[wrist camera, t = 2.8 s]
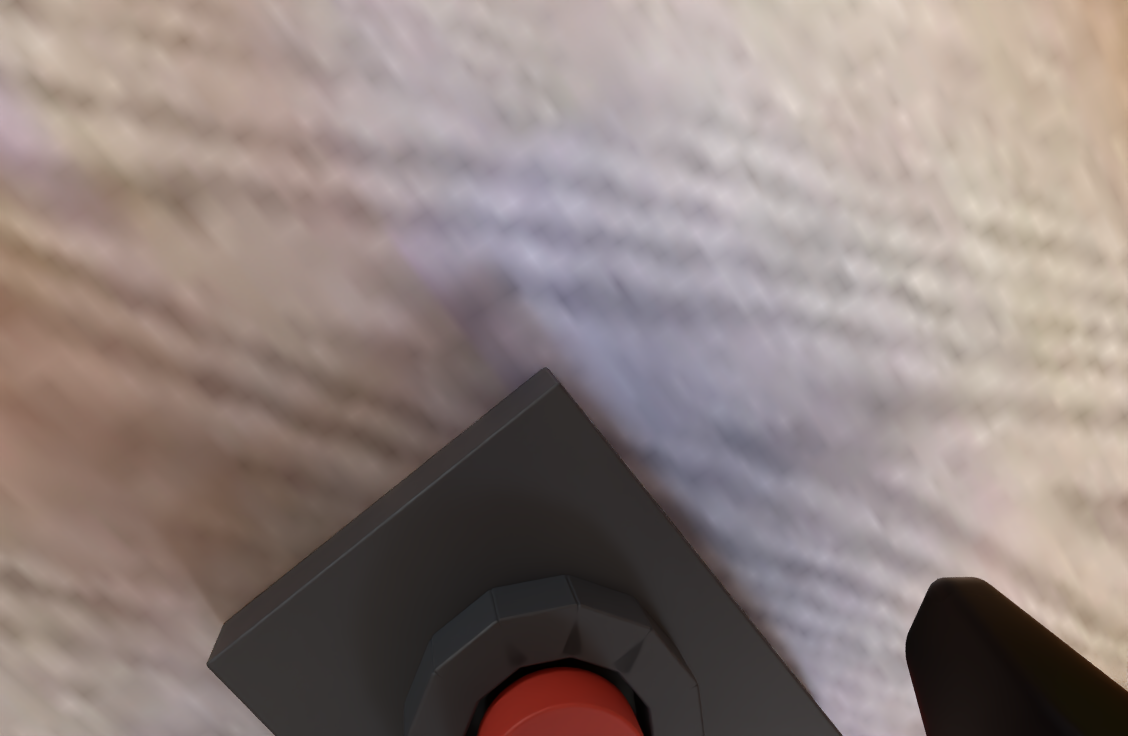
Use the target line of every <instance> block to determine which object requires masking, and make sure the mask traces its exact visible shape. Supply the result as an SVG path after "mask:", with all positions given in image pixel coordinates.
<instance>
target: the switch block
mask: <svg viewBox="0 0 1128 736" xmlns="http://www.w3.org/2000/svg"><path fill="white" fill-rule="evenodd" d="M207 666H208V668H209V669H210V670H211V671H212V672H213V673H214V674H215V675H216V676H217V677H218V678H219V679H220V680H221V681H222V682H223V683H224V684H225V685H226V686H227V687H228V688H229V689H230V690H231V691H232V692H233V693H234V694H235V695H236V696H237V697H238V698H239V699H240V700H241V701H242V702H243V703H244V704H245V705H246V706H247V707H248V708H249V709H250V710H251V711H252V712H253V714H254V715H255V716H256V717H257V718H258V719H259V720H260V721H261V722H262V723H263V724H264V725H265V726H266V727H267V728H268V729H269V730H270V731H271V732H272V733H273V734H274V735H275V736H477V732H478V729H479V726H480V723H481V720H482V718H483V716H484V714H485V712H486V710H487V709H488V707H489V706H490V704H491V703H492V702H493V700H494V699H495V698H496V697H497V696H498V695H499V694H500V693H501V692H502V691H503V690H504V689H505V688H506V687H507V686H509V685H510V684H511V683H513V682H514V681H516V680H517V679H519V678H521V677H523V676H525V675H527V674H530V673H532V672H535V671H538V670H542V669H545V668H552V667H573V668H580V669H584V670H588V671H590V672H593V673H596V674H598V675H600V676H602V677H603V678H605V679H607V680H608V681H610V682H611V683H612V684H613V685H615V686H616V687H617V688H618V689H619V690H620V691H621V692H622V694H623V695H624V696H625V698H626V699H627V701H628V702H629V704H630V706H631V708H632V710H633V712H634V715H635V717H636V719H637V722H638V724H639V726H640V728H641V731H642V733H643V735H644V736H842V734H841V733H840V732H839V731H838V729H837V728H836V727H835V726H834V724H833V723H832V722H831V721H830V719H829V718H828V717H827V716H826V714H825V713H824V712H823V711H822V709H821V708H820V707H819V706H818V704H817V703H816V702H815V701H814V699H813V698H812V697H811V696H810V694H809V693H808V692H807V691H806V689H805V688H804V687H803V686H802V684H801V683H800V682H799V681H798V679H797V678H796V677H795V676H794V674H793V673H792V672H791V671H790V669H789V668H788V667H787V666H786V664H785V663H784V662H783V661H782V659H781V658H780V657H779V656H778V654H777V653H776V652H775V651H774V649H773V648H772V647H771V646H770V644H769V643H768V642H767V641H766V639H765V638H764V637H763V636H762V634H761V633H760V632H759V631H758V629H757V628H756V627H755V626H754V624H753V623H752V622H751V621H750V619H749V618H748V617H747V616H746V614H745V613H744V612H743V611H742V609H741V608H740V607H739V606H738V604H737V603H736V602H735V601H734V599H733V598H732V597H731V596H730V594H729V593H728V592H727V591H726V589H725V588H724V587H723V586H722V584H721V583H720V582H719V581H718V579H717V578H716V577H715V576H714V574H713V573H712V572H711V571H710V569H709V568H708V567H707V566H706V564H705V563H704V562H703V561H702V559H701V558H700V557H699V556H698V554H697V553H696V552H695V551H694V549H693V548H692V547H691V546H690V544H689V543H688V542H687V541H686V539H685V538H684V537H683V536H682V534H681V533H680V532H679V531H678V529H677V528H676V527H675V526H674V524H673V523H672V522H671V521H670V519H669V518H668V517H667V516H666V514H665V513H664V512H663V511H662V509H661V508H660V507H659V506H658V504H657V503H656V502H655V501H654V499H653V498H652V497H651V496H650V494H649V493H648V492H647V491H646V489H645V488H644V487H643V486H642V484H641V483H640V482H639V481H638V479H637V478H636V477H635V476H634V474H633V473H632V472H631V471H630V469H629V468H628V467H627V466H626V464H625V463H624V462H623V461H622V459H621V458H620V457H619V456H618V454H617V453H616V452H615V451H614V449H613V448H612V447H611V446H610V444H609V443H608V442H607V441H606V439H605V438H604V437H603V436H602V435H601V433H600V432H599V431H598V430H597V428H596V427H595V426H594V425H593V423H592V422H591V421H590V420H589V418H588V417H587V416H586V415H585V413H584V412H583V411H582V410H581V408H580V407H579V406H578V405H577V403H576V402H575V401H574V400H573V398H572V397H571V396H570V395H569V393H568V392H567V391H566V390H565V388H564V387H563V386H562V385H561V383H560V382H559V381H558V380H557V378H556V377H555V376H554V375H553V374H552V372H551V371H550V370H549V369H548V368H546V367H545V368H543V369H541V370H540V371H539V372H538V373H536V374H535V375H534V376H533V377H531V378H530V379H529V380H528V381H526V382H525V383H524V384H523V385H521V386H520V387H519V388H518V389H516V390H515V391H514V392H513V393H511V394H510V395H509V396H508V397H506V398H505V399H504V400H503V401H501V402H500V403H499V404H498V405H496V406H495V407H494V408H493V409H491V410H490V411H489V412H488V413H486V414H485V415H484V416H483V417H481V418H480V419H479V420H478V421H476V422H475V423H474V424H473V425H471V426H470V427H469V428H468V429H466V430H465V431H464V432H463V433H461V434H460V435H459V436H458V437H456V438H455V439H454V440H453V441H451V442H450V443H449V444H448V445H446V446H445V447H444V448H443V449H442V450H440V451H439V452H438V453H437V454H435V455H434V456H433V457H432V458H430V459H429V460H428V461H427V462H425V463H424V464H423V465H422V466H420V467H419V468H418V469H417V470H415V471H414V472H413V473H412V474H410V475H409V476H408V477H407V478H405V479H404V480H403V481H402V482H400V483H399V484H398V485H397V486H395V487H394V488H393V489H392V490H390V491H389V492H388V493H387V494H385V495H384V496H383V497H382V498H380V499H379V500H378V501H377V502H375V503H374V504H373V505H372V506H370V507H369V508H368V509H367V510H365V511H364V512H363V513H362V514H360V515H359V516H358V517H357V518H355V519H354V520H353V521H352V522H350V523H349V524H348V525H347V526H345V527H344V528H343V529H342V530H340V531H339V532H338V533H337V534H335V535H334V536H333V537H332V538H330V539H329V540H328V541H327V542H325V543H324V544H323V545H322V546H320V547H319V548H318V549H317V550H315V551H314V552H313V553H312V554H310V555H309V556H308V557H307V558H305V559H304V560H303V561H302V562H300V563H299V564H298V565H297V566H295V567H294V568H293V569H292V570H290V571H289V572H288V573H287V574H286V575H284V576H283V577H282V578H281V579H279V580H278V581H277V582H276V583H274V584H273V585H272V586H271V587H269V588H268V589H267V590H266V591H264V592H263V593H262V594H261V595H259V596H258V597H257V598H256V599H254V600H253V601H252V602H251V603H249V604H248V605H247V606H246V607H244V608H243V609H242V610H241V611H239V612H238V613H237V614H236V615H234V616H233V617H232V618H231V619H229V620H228V621H227V622H226V623H224V625H223V626H222V629H221V631H220V634H219V636H218V638H217V641H216V643H215V645H214V648H213V650H212V652H211V655H210V657H209V660H208V662H207Z"/></svg>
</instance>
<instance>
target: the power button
mask: <svg viewBox="0 0 1128 736" xmlns="http://www.w3.org/2000/svg"><path fill="white" fill-rule="evenodd" d="M477 736H644V735H643V733H642V731H641V728H640V726H639V724H638V722H637V719H636V717H635V715H634V712H633V710H632V708H631V706H630V704H629V702H628V701H627V699H626V698H625V696H624V695H623V694H622V692H621V691H620V690H619V689H618V688H617V687H616V686H615V685H613V684H612V683H611V682H610V681H608V680H607V679H605V678H603V677H602V676H600V675H598V674H596V673H593V672H590V671H588V670H584V669H580V668H573V667H552V668H545V669H542V670H538V671H535V672H532V673H530V674H527V675H525V676H523V677H521V678H519V679H517V680H516V681H514V682H513V683H511V684H510V685H509V686H507V687H506V688H505V689H504V690H503V691H502V692H501V693H500V694H499V695H498V696H497V697H496V698H495V699H494V700H493V702H492V703H491V704H490V706H489V707H488V709H487V710H486V712H485V714H484V716H483V718H482V720H481V723H480V726H479V729H478V732H477Z"/></svg>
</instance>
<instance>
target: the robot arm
mask: <svg viewBox="0 0 1128 736" xmlns="http://www.w3.org/2000/svg"><path fill="white" fill-rule="evenodd" d="M905 652H906V660H907V665H908V669H909V672H910V676H911V680H912V684H913V687H914V691H915V695H916V698H917V702H918V706H919V709H920V713H921V717H922V721H923V724H924V728H925V732H926V735H927V736H1128V691H1126V690H1125V689H1124V688H1122V687H1121V686H1120V685H1119V684H1117V683H1116V682H1115V681H1113V680H1112V679H1111V678H1110V677H1108V676H1107V675H1106V674H1104V673H1103V672H1102V671H1101V670H1099V669H1098V668H1097V667H1095V666H1094V665H1093V664H1092V663H1090V662H1089V661H1088V660H1086V659H1085V658H1084V657H1083V656H1081V655H1080V654H1079V653H1077V652H1076V651H1075V650H1074V649H1072V648H1071V647H1070V646H1068V645H1067V644H1066V643H1065V642H1063V641H1062V640H1061V639H1059V638H1058V637H1057V636H1056V635H1054V634H1053V633H1052V632H1050V631H1049V630H1048V629H1047V628H1045V627H1044V626H1043V625H1041V624H1040V623H1039V622H1038V621H1036V620H1035V619H1034V618H1032V617H1031V616H1030V615H1029V614H1027V613H1026V612H1025V611H1023V610H1022V609H1021V608H1020V607H1018V606H1017V605H1016V604H1014V603H1013V602H1012V601H1011V600H1009V599H1008V598H1007V597H1005V596H1004V595H1003V594H1002V593H1000V592H999V591H998V590H996V589H995V588H994V587H993V586H991V585H990V584H988V583H987V582H985V581H984V580H982V579H979V578H975V577H947V578H939V579H937V580H936V581H935V582H933V583H932V584H931V585H930V587H929V589H928V591H927V593H926V595H925V597H924V600H923V602H922V604H921V606H920V608H919V610H918V613H917V615H916V617H915V619H914V621H913V624H912V626H911V628H910V630H909V632H908V635H907V639H906V650H905Z"/></svg>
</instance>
